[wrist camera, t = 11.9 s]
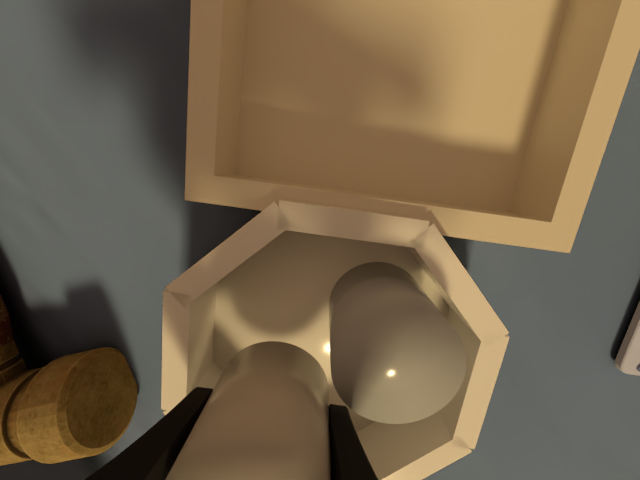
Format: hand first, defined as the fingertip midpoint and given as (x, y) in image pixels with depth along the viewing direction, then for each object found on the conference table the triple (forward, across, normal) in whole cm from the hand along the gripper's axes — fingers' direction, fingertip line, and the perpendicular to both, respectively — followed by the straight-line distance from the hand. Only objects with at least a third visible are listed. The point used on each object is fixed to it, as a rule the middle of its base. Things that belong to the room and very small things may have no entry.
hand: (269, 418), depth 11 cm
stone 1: (+1, 0, 0) cm, 1 cm away
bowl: (+4, -2, -2) cm, 5 cm away
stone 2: (+4, -4, -3) cm, 6 cm away
